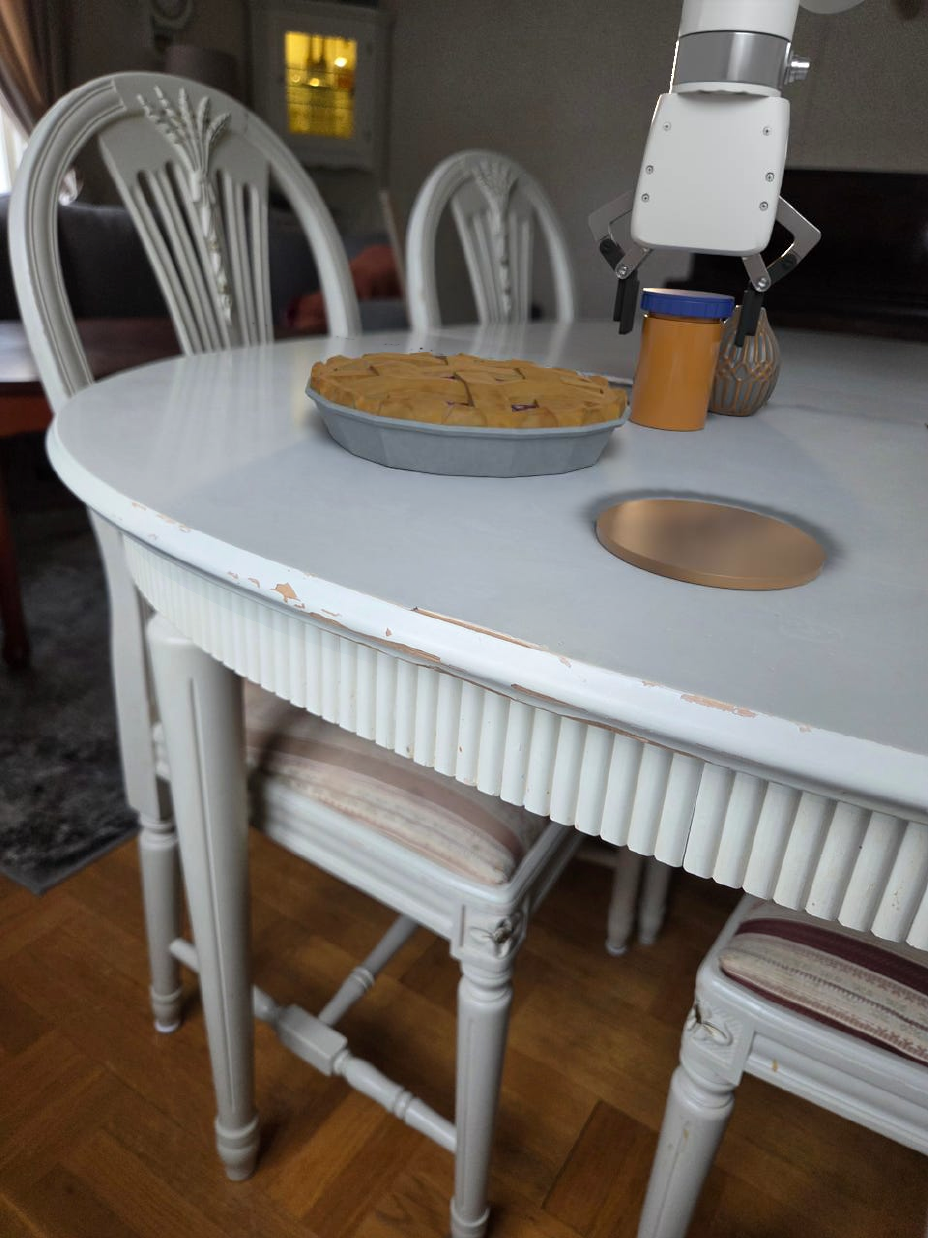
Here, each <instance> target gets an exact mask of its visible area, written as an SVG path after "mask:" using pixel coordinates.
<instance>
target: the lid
mask: <svg viewBox="0 0 928 1238" xmlns="http://www.w3.org/2000/svg"><path fill="white" fill-rule="evenodd" d="M735 300H736V299H735V297H734V296H731V295H727V294H720V293H714V292H707V291H697V290H687V289H674V288H658V287H657V288H656V287H653V288H651V287H649V288H643V291H642V294H641V298H640V305H639V309H641V310H643V311H647V312H648V311H650V312H656V313H662V314H669V315H677V316H687V317H698V318H722V319H728V318H729V317H731V316H732V314H733V310H734V309H735Z"/></svg>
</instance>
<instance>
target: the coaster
mask: <svg viewBox="0 0 928 1238" xmlns="http://www.w3.org/2000/svg"><path fill="white" fill-rule="evenodd" d="M596 521H597V522H596V529H595V532H596V537H597V539H598V541H599V543H600V544H601V545H602V546H603V547H604V548H605V549H606V550H607V551H608V552H610V553H611V554H612V555H614V556H616V557H617V558H619V559H621V560H622V561H624V562H626V563H628V564H630V565H633V566H635V567H637V568H640V569H642V570H645V571H648V572H650V573H654V574H656V575H659V576H662V577H666V578H668V579H669V578H670V579H673V580H677V581H681V582H685V583H691V584H695V585H701V586H706V587H712V588H720V589H729V590H741V591H743V590H744V591H769V590H770V591H771V590H783V589H790V588H794V587H800V586H803V585H807V584H809V583H810V582H812V581H814V580H816V579H817V578H818V577H819V576H820V575H821V574H822V572H823V569H824V566H825V562H826V553H825V549H824V548H823V547H822V545H821V544H820V543H819V542H818V541H817V540H816V539H815V538H813V537H812V536H810V535H809V534H808V533H806V532H805V531H802V530H801V529H799V528H797V527H795V526H793V525H790V524H788V523H786V522H783V521H781V520H778V519H776V518H773V517H770V516H767V515H764V514H761V513H757V512H754V511H750V510H746V509H742V508H738V507H734V506H729V505H723V504H719V503H712V502H704V501H698V500H697V501H696V500H685V499H683V500H682V499H666V498H665V499H664V498H663V499H660V498H659V499H641V500H634V501H626V502H622V503H619V504H618V503H617V504H615V505H612V506H610V507H608V508H606V509H605V510H603V511H602V512H601V513H600V514H599V515H598V518H597V520H596Z"/></svg>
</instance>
